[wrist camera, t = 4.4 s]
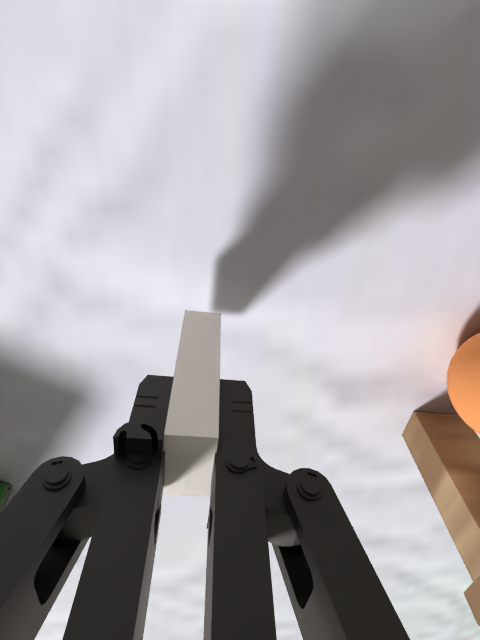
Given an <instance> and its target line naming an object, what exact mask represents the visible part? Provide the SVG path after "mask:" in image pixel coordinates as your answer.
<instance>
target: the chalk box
mask: <svg viewBox="0 0 480 640" xmlns="http://www.w3.org/2000/svg"><path fill="white" fill-rule="evenodd" d="M11 491H12V486H11V485H8V484H5V483H1V482H0V514H1V512H2V511H3V509H4V507H5V504H6V502H7V500H8V498H9V496H10V493H11Z"/></svg>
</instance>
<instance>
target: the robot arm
mask: <svg viewBox="0 0 480 640" xmlns="http://www.w3.org/2000/svg"><path fill="white" fill-rule="evenodd" d="M220 338H221V314H220V313H209V312H198V311H186V310H185V314H184V320H183V326H182V332H181V338H180V344H179V349H178V355H177V361H176V367H175V373H174V377H169V376H155V375H147V376H146V378H145V379H144V380H143V381H142V382H141V383H140V384H139V387H138V391H137V394H136V398H135V402H134V406H133V409H132V412H131V416H130V420H129V423H126V424H124V425H123V426H121V427H120V428H119V429H118V430H117V431H116V433H115V435H114V436H113V442H114V454H113V455H111V456H109V457H107V458H106V459H103V460H100V461H96V462H92V463H87V464H83V465H81V463H80V462H79V461H78V460H76V459H74V458H72V457H63V456H62V457H57V458H53V459H50V460H48V461H46V462H44V463H43V464H41V465H40V466H39V467H38V468H37V469H36V470H35V471H34V472H33V473H32V475H31V476H30V477H29V479H28V480H27V481H26V482H25V484H24V485H23V486H22V487H21V489H20V490H19V491H18V493H17V494H16V495H15V496H14V498H13V499H12V500H11V502H10V503H9V504H8V505H7V507H6V508H5V509H4V511H3V512H2V513H1V514H0V640H34V639H35V637H36V635H37V633H38V632H39V630H40V628H41V626H42V624H43V622H44V621H45V619H46V617H47V615H48V613H49V611H50V609H51V608H52V606H53V604H54V602H55V600H56V598H57V597H58V595H59V593H60V591H61V589H62V587H63V586H64V584H65V582H66V580H67V578H68V576H69V574H70V573H71V571H72V569H73V567H74V565H75V563H76V562H77V560H78V558H79V556H80V554H81V552H82V550H83V549H84V547H85V545H86V543H87V541H88V539H89V537H92V538H91V542H90V545H89V549H88V552H87V556H86V559H85V563H84V566H83V570H82V573H81V577H80V580H79V584H78V587H77V591H76V594H75V598H74V601H73V605H72V608H71V612H70V615H69V619H68V622H67V626H66V629H65V633H64V636H63V640H143V633H144V626H145V619H146V612H147V605H148V598H149V591H150V584H151V577H152V570H153V564H154V557H155V550H156V543H157V536H158V529H159V522H160V515H161V500H162V494H168V495H190V496H210V509H209V516H208V523H207V528H208V544H207V568H206V593H205V617H204V640H277V639H276V628H275V616H274V605H273V593H272V582H271V570H270V559H269V548H268V542H271V543H272V546H273V549H274V552H275V555H276V558H277V561H278V564H279V567H280V570H281V573H282V576H283V579H284V582H285V585H286V588H287V591H288V594H289V597H290V601H291V604H292V607H293V610H294V613H295V616H296V619H297V622H298V625H299V628H300V631H301V634H302V637H303V640H410V639H409V637H408V635H407V633H406V631H405V629H404V627H403V625H402V623H401V621H400V619H399V617H398V615H397V613H396V611H395V609H394V607H393V605H392V603H391V601H390V600H389V598H388V596H387V594H386V592H385V590H384V588H383V586H382V584H381V582H380V580H379V578H378V576H377V574H376V572H375V570H374V568H373V566H372V564H371V562H370V560H369V558H368V556H367V554H366V552H365V551H364V549H363V547H362V545H361V543H360V541H359V539H358V537H357V535H356V533H355V531H354V529H353V527H352V525H351V523H350V521H349V519H348V517H347V515H346V513H345V511H344V509H343V507H342V505H341V503H340V501H339V500H338V498H337V496H336V494H335V492H334V490H333V488H332V486H331V484H330V483H329V481H328V480H327V479H326V477H325V476H323V475H322V474H321V473H319V472H318V471H315V470H312V469H309V468H300V469H297V470H295V471H293V472H292V473H291V474H288V473H285V472H282V471H280V470H277V469H275V468H273V467H270V466H269V465H268V464H266V463H265V462H264V461H263V460H262V459H261V458H260V456H259V454H258V452H257V448H256V439H255V426H254V414H253V405H252V403H253V402H252V391H251V389H250V388H249V386H248V385H247V383H246V382H245V381H237V380H223V379H220Z"/></svg>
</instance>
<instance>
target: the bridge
mask: <svg viewBox="0 0 480 640" xmlns="http://www.w3.org/2000/svg"><path fill="white" fill-rule="evenodd" d="M402 436H403V438H404V440H405V442H406V444H407V446H408V448H409V450H410V452H411V454H412V457H413V459H414V461H415V463H416V465H417V467H418V469H419V471H420V473H421V475H422V477H423V479H424V481H425V483H426V485H427V487H428V489H429V492H430V494H431V496H432V498H433V500H434V502H435V504H436V506H437V508H438V510H439V512H440V514H441V516H442V518H443V520H444V522H445V524H446V527H447V529H448V531H449V533H450V535H451V537H452V539H453V541H454V543H455V545H456V547H457V549H458V551H459V553H460V555H461V557H462V559H463V562H464V564H465V566H466V568H467V570H468V572H469V574H470V576H471V578H472V580H473V583H472V584H471V585H470V586H469V588H468V589H467V590H466V591H465V592H464V595H465V597H466V599H467V602H468V604H469V606H470V608H471V610H472V613H473V615H474V617H475V619H476V621H477V624H478V626H480V439H479V437H478V436H477V434H476V433H475V431H474V430H473V429H472V428H471V427H470V426H468V425H467V424H466V423H465V422H464V421H463V419H462V418H461V417H460V416H459V415H458V414H445V413H431V412H416V411H414V412H413V414H412V416H411V418H410V420H409V422H408V424H407V426H406V428H405V430H404V432H403V434H402Z"/></svg>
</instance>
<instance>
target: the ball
mask: <svg viewBox="0 0 480 640" xmlns="http://www.w3.org/2000/svg"><path fill="white" fill-rule="evenodd" d="M447 389H448V394H449V397H450V400H451V403H452V405H453V406H454V408H455V410H456V412H457V413H458V415H459V416H460V417H461V418H462V419H463V421H464V422H465V423H466V424H467V425H468V426H470V427H471V428H472V429H473V430H474V431H476V432H477V433H479V434H480V333H478V334H476V335H474V336H472V337H471V338H469V339H468V340H467V341H465V342H464V343H463V344H462V345H461V346H460V347H459V349H458V350H457V351H456V353H455V354H454V356H453V358H452V360H451V362H450V365H449V368H448V372H447Z"/></svg>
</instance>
